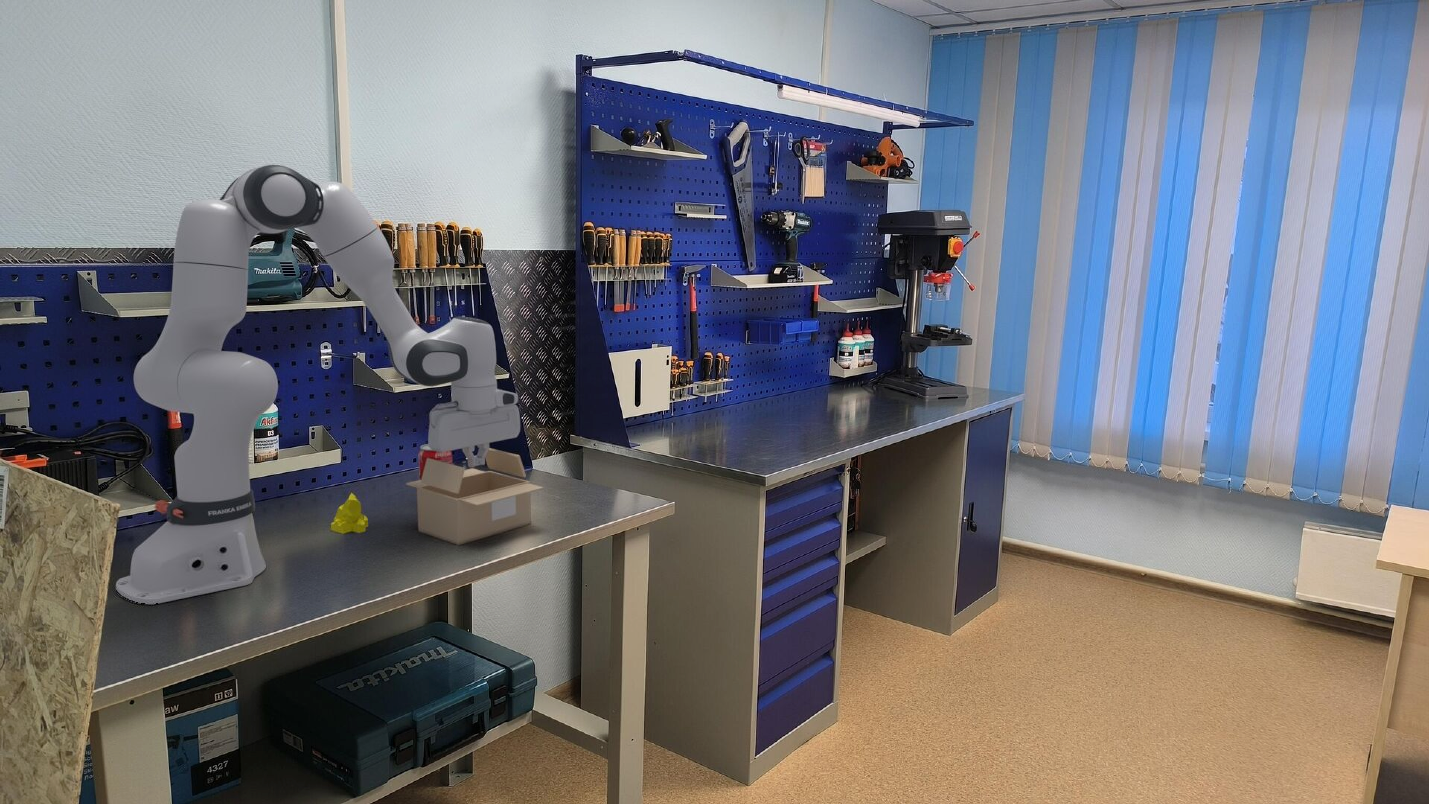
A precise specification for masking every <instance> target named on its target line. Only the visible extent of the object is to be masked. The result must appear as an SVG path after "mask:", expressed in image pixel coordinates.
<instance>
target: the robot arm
mask: <svg viewBox="0 0 1429 804" xmlns="http://www.w3.org/2000/svg"><path fill="white" fill-rule="evenodd" d="M180 215H181V216H180V218H179V219H180V220H179V222H178V228H177V232H176V236H175V237H176V238H175V244H174V253H173V267H172V268H173V269H172V284H171V297H170V307H169V309H168V310H169V311H168V316H167V319H166V321H165V324H164V327H163V330H162V331H161V334H160V336H159V338H158V340H157V341H156V343H155V344H154V346H153V347H152V348H151V349H150V351H148V352H147V353H146V354H144V355H143V356H142V357H141V359H140V360H139V361H138V362H137V364H136V366H135V368H134V372H133V384H134V389H135V391H136V393H137V395H138V396H139V397H140V398H141V399H142V400H143V401H144V402H146V403H148V404H151V405H152V406H155V407H157V408H161V409H163V410H164V411H165V410H166V411H168V412H176V413H184V414H193V425H192V430H191V433H190V436H189V439H188V440H185V441H184V442H183V443H182V444H180V445H179V446H178V447H177V449H176V450H175V454H174V456H173V457H174V458H173V459H174V468H175V482H176V491H177V492H176V493H177V495H176V496H175V498H174V499H173V500H172V501H171V502H168V501H166V500H163V499H160V500H158V501H156V503H155V504H154V510H155V511H157V512H159V513H161V514H162V515H164V514H166V520H167V521H166V522H164V523H163V524H162V526H160V527H159V528H158V529H157V530H155V532H153V533H152V534H151V535H150V536H149V537H148V538H147V539H145V540H144V541H143V542H142V543H140V544H139V545H138V546H137V547H136V548H135V549H134V550H133V553H132V557H131V561H130V562H131V563H130V572H129V573H130V574H129V575H127V576H124V577H121V578H119V579H118V580H117V581H116V582H115V583H116V584H115V591H116V590H117V591H118V592H119V593H120V594H121V595H122V596H124V597H126V598H128V599H129V600H133V601H135V602H134V603H136V602H138V603H137V604H141V603H145V604H144V605H156V603H158V604H162V603H163V604H164V603H166V602H171V601H176V600H180V599H186V598H190V597H191V598H192V597H194V596H195V597H196V596H201V595H205V594H210V593H214V592H219V591H224V590H230V589H233V588H238V587H239V588H240V587H243V586H247V585H250V584H251V583H253V581H254V579H255V577H257V576H258V575H260V574H261V573H263V572H264V571H265V569H266V568H267V564H266V561H265V559H264V557H263V553H262V550H261V548H260V545H259V541H258V537H257V536H258V535H257V532H256V528H255V527H256V526H255V521H254V520H255V518H256V512H255V511H256V503H255V498H254V496H255V495H254V490H253V489H252V488H251V482H250V480H251V479H250V476H251V475H250V459H249V458H250V457H249V455H250V454H249V453H250V452H249V451H250V443H251V437H252V435H253V431H254V428H255V426H256V425H257V422H258V421H259V420H260V418H261V416H262V415H264V414H265V412H267V411H268V410H269V409H271V407H272V405H273V404H274V402H275V400H276V398H277V394H278V389H279V383H278V378H277V374H276V371H275V370H274V368H273V367H272V366H271V364H270V363H269V362H267V361H266V360H265V359H264V360H263V359H260V358H258V357H257V356H256V357H255V356H254V355H253V356H252V355H249V354H247V353H244V352H240V351H239V352H238V351H228V350H227V351H226V350H225V351H224V350H222V349H223V344H224V341H225V340H226V337H227V335H228V334H229V332H230V330H231V329H232V328H233V327H234V326H236V325H238V324H239V323H240V322H242V320H243V319H244V318H245V315H246V313H247V303H248V286H249V285H248V284H249V259H250V258H249V251H250V248H251V245H252V242H253V240H254V238H255V237H256V236H261V235H262V236H263V235H268V234H280V233H282V232H286V231H289V230H292V229H297V230H301V231H302V232H303V233H304V234H306V235H307V236H308V237H309V238H310V239H311V240H312V241H313V243H314V244H315V245H316V248H317V249H318V250H319V252H320V254H321V255H322V257H323V258H324V259H325V261H326V263H327V264H328V265H329V267H330V268H331V270H333V272H334V273H335V274H336V275H337V277H338V278H339V279H340V280H341V281H342V282H343V284H345V285H346V286H347V287H348V288H349V289H350V291H352V292H353V293H354V294H355V295H356V296H357V297H358V298H359V299H360V300H361V301H362V303H363V304H364V305H365V307H366V308H367V310H368V311H369V313H370V314H371V316H372V318H373V319H374V321H375V322H376V324H377V326H378V328H379V329H380V330H381V332H382V334H383V335H384V337H385V339H386V342H387V346H388V352H389V358H390V359H389V360H390V363H391V365H392V367H393V369H394V370H395V371H396V373H398V374H399V376H402V377H403V378H404V379H408V380H409V381H412V382H414V383H416V384H419V386H424V387H435V386H440V385H445V384H449V383H450V390H451V391H450V392H451V395H450V396H451V401H450V402H446V403H437V404H436V405H435V406H434V407H433V408H432V409H431V410H430V412H429V425H428V435H427V436H428V437H427V441H428V442H427V444H428V445H429V447H430V448H431V449H432V450H433V451H437V452H446V451H455V450H459V449H460V450H461V449H462V453H463V454H464V455H465V457H466V459H467V466H468V467H469V468H470V469H472V468H473V469H474V468H476V467H483V466H485V464H486V459H485V456H486V454H487V452H488V450H489V448H490V443H495V442H500V441H505V440H509V439H516V438H517V437H518V436H519V434H520V432H521V417H520V409H519V407H518V405H516V404H518V402H519V397H518V396H519V395H518V394H517V393H514V392H512V391H511V392H510V391H507V390H503V389H501V388H498V381H497V377H496V374H495V372H496V371H495V369H496V365H497V350H496V349H497V348H496V340H495V333H494V329H493V327H492V325H491V324H490V323H489V322H487V321H485V320H482V319H479V318H475V317H468V316H455V317H453V318H452V319H451V320H450V321H449V322H448V323H446V324H444V325H442V326H440V328H438V329H436V330H434V331H431V332H428V331H426V330H424V329H423V328H421V327H420V326H419V325H418V324H417V323H416V322H415V320H414V319H413V317H412V314H410V312H409V310H408V309H407V307H406V306H405V304H404V302H403V300H402V299H401V298H400V296H399V294H398V292H397V290H396V288H395V284H394V281H393V280H394V279H393V273H394V268H395V257H394V255H393V253H392V250H391V248H390V245H389V243H388V241H387V239H386V237H385V236H384V234H383V231H382V230H381V229H380V227H379V226H378V224H377V223H376V221H375V219H374V218H373V217H372V216H371V214H370V213H369V211H368V210H367V208H366V207H365V206H364V205H363V203H362V202H361V201H360V200H359V198H358V197H357V196H356V195H355V194H354V192H352V191H351V190H350V189H349V187H348V186H346V185H345V184H344V183H341V182H339V181H333V180H332V181H331V180H330V181H324V182H323V181H322V182H319V183H315V182H314V181H313V180H311V179H309V178H307V177H305V176H304V175H302V174H301V173H300V172H298V171H296V170H295V169H292V168H291V167H288V166H285V165H281V164H267V165H264V166H263V165H262V166H260V167H255V168H252V169H249V170H247V171H246V172H244V173H243V174H241V175H240V176H239V177H237V178H236V179H234V181H232V183H230V185H229V186H228V187H227V189H226V190H225V192H224V193H223V195H222V196H221V197H220V198H219V199H216V198H201V199H197V200H195V201H192V202H190V203H188V204H187V205H186V206H185V207H184V209H183V210H182V213H181V214H180ZM475 446H477V448H478V450H477V454H476V456H475V455H474V453H473V452H475ZM122 596H121V597H122ZM129 600H128V601H129Z"/></svg>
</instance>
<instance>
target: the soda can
mask: <svg viewBox="0 0 1429 804" xmlns="http://www.w3.org/2000/svg"><path fill="white" fill-rule="evenodd" d="M419 448H420V449H419V452H418V456H417V457H418V480H421V479H422V475H423V472H424V468H425V464H426V460H427V458H429V459H433V460H437V461H440V462H444V463H448V464H452V465H454V464H453V452H452V451H453V450H451V451H446V452H437V451H433V450H432V449H431V448H430V447H429V445H428V443H425V444H423V445H421V446H420V447H419Z"/></svg>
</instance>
